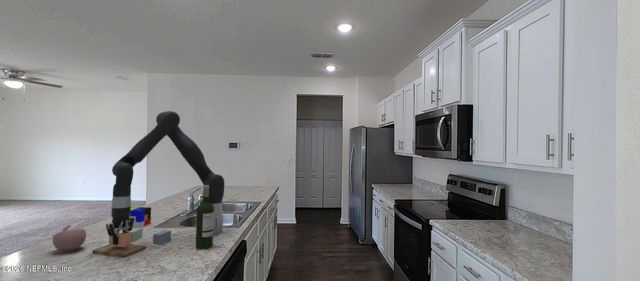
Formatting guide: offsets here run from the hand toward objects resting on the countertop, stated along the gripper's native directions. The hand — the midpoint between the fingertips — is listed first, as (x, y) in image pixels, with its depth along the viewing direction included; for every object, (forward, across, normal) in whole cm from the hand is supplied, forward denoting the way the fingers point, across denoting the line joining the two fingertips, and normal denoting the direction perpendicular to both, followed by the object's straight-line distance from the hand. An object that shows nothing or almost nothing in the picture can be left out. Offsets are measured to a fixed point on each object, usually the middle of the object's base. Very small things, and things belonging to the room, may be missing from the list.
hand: (120, 242), depth 144 cm
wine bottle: (+4, +17, -32) cm, 37 cm away
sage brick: (+4, +16, +8) cm, 18 cm away
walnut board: (+4, 0, 0) cm, 4 cm away
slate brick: (+4, +17, -8) cm, 19 cm away
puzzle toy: (+4, +39, +26) cm, 47 cm away
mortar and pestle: (+4, -6, +22) cm, 23 cm away
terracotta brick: (+1, 0, 0) cm, 1 cm away
